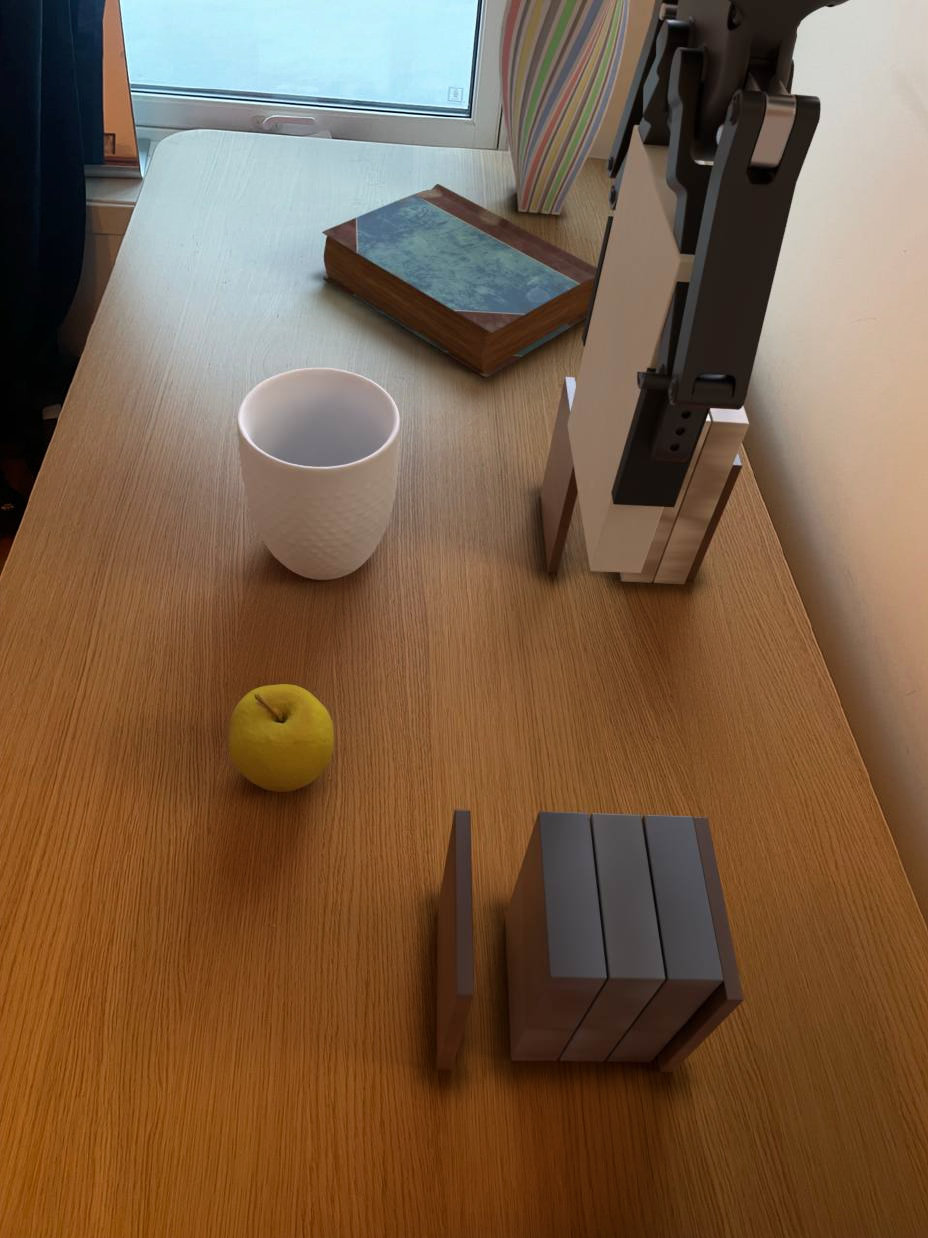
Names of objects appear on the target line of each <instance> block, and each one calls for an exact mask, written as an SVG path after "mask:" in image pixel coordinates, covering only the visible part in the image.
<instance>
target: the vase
mask: <svg viewBox="0 0 928 1238" xmlns="http://www.w3.org/2000/svg"><path fill="white" fill-rule="evenodd" d="M629 16H630V0H506V2H505V6H504V11H503V16H502V22H501V27H500V35H499V36H500V37H499V47H498V48H499V49H498V72H499V73H498V74H499V75H498V76H499V89H500V99H501V108H502V113H503V118H504V120H503V121H504V127H505V131H506V137H507V142H508V146H509V152H510V156H511V162H512V167H513V173H514V178H515V187H516V188H515V189H516V199H517V211H518V212H523V213H527V212H528V213H531V214H533V213H534V214H537V213H538V214H546V215H557V216H560V214H561V212H562V209H563V207H564V204H565V202H566V201H567V198H568V197H569V194H570V192H571V191H572V189H573V187H574V185H575V183H576V181H577V179H578V177H579V175H580V173H581V171H582V169H583V168H584V165H585V164H586V161H587V158H588V157H589V155H590V153H591V151H592V148H593V146H594V144H595V143H596V139H597V137H598V135H599V132H600V129H601V127H602V125H603V122H604V119H605V117H606V115H607V112H608V108H609V105H610V102H611V99H612V96H613V94H614V90H615V87H616V84H617V79H618V76H619V72H620V69H621V65H622V59H623V54H624V49H625V43H626V39H627V31H628V24H629Z"/></svg>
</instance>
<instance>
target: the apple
mask: <svg viewBox="0 0 928 1238" xmlns="http://www.w3.org/2000/svg"><path fill="white" fill-rule="evenodd" d="M229 723H230V725H229V735H228V754H229V758H230V759H229V760H230V761H231V762H232V764H233V766H234V767H235V768H236V769H237V770H238V771H239V772H240V774H242V775H243V776H244V777H245V778H246V779H247V780H248V782H250V783H252V784H254V785H256V786H257V787H260V788H261V789H264V790H266V791H270V792H276V793H277V792H278V793H287V792H293V791H296V790H299V789H302V788H304V787H306V786H308V785H310V784H311V783H313V782H314V781H315V780H316V779H317V778H318V777H320V776H321V775H322V774H323V772H325V770H326V768H327V767H328V765H329V763H330V761H331V759H332V756H333V752H334V744H335V743H334V742H335V731H334V723H333V720H332V717H331V715H330V712H329V711H328V710H327V707H325V706H324V705H323V704H322V702H320V700H319V699H318V698H316V697H315V696H314V695H313V694H312V693H311V691H309V690H307V689H305V688H304V687H301V686H298V685H295V684H288V683H279V684H269V685H263V686H259V687H256V688H254V689H252V690H250V691H249V692H248V693H246V694H245V695H244V696H243V697H242V698H241V699H240V700H239V702H238V703H237V705H236V706H235V708H234V710H233V713H232V715H231V718H230V722H229Z"/></svg>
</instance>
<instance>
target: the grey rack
mask: <svg viewBox="0 0 928 1238" xmlns="http://www.w3.org/2000/svg"><path fill="white" fill-rule="evenodd" d="M452 816H453V817H452V824H451V828H450V835H449V840H448V845H447V852H446V857H445V862H444V867H443V874H442V880H441V885H440V891H439V897H438V902H437V929H436V930H437V936H436V937H437V940H436V941H437V942H436V943H437V944H436V945H437V946H436V948H437V949H436V951H437V952H436V956H437V957H436V958H437V959H436V961H437V965H436V966H437V967H436V970H437V971H436V1070H439V1071H443V1070H444V1071H445V1070H446V1071H450V1070H452V1069H453V1066H454V1062H455V1059H456V1056H457V1054H458V1049H459V1047H460V1046H459V1045H460V1043H461V1040H462V1036H463V1034H464V1030H465V1026H466V1022H467V1020H468V1017H469V1013H470V1010H471V1006H472V1003H473V1001H474V996H475V967H474V966H475V964H474V963H475V961H474V915H473V914H474V913H473V912H474V910H473V908H474V907H473V868H472V867H473V866H472V864H473V863H472V861H473V860H472V859H473V858H472V820H471V819H472V815H471V809H460V808H459V809H454V811H453V815H452ZM710 826H711V825H710V822H709V818H708V817H707V816H706V817H705V816H692V815H668V814H667V815H665V814H664V815H663V814H642V815H641V814H636V813H635V814H634V813H633V814H632V813H630V814H629V813H606V812H605V813H603V812H602V813H600V812H599V813H598V812H592V813H591V814H590V813H589V812H574V811H573V812H572V811H571V812H569V811H544V810H542V811H541V810H540V811H538V813H537V816H536V819H535V822H534V825H533V828H532V831H531V834H530V838H529V839H528V840H529V841H528V844H527V847H526V850H525V853H524V856H523V859H522V863H521V866H520V869H519V872H518V874H517V878H516V881H515V885H514V888H513V891H512V894H511V897H510V900H509V903H508V907H507V909H506V913H505V916H504V923H505V924H504V926H505V948H506V949H505V951H506V971H507V973H506V974H507V992H508V995H507V996H508V1016H509V1017H508V1019H509V1020H508V1021H509V1039H510V1040H509V1041H510V1042H509V1043H510V1059H511V1061H521V1062H522V1061H524V1062H525V1061H531V1062H534V1061H535V1062H557V1061H558V1060H559V1061H560V1062H605V1061H606V1062H612V1063H613V1062H617V1063H619V1062H622V1063H625V1062H627V1063H628V1062H629V1063H632V1062H633V1063H652V1061H653V1060H654V1059H655V1058H656V1057H657V1065H658V1071H659V1072H660V1073H673V1072H675V1071H676V1070H677V1069H678V1068H679V1067H680V1066H681V1065H682V1064H683V1063H684V1061H686V1060H687V1059H688V1057H690V1056H691V1055H692V1054H693V1052H694V1051H695V1050H696V1049H698V1048H699V1047H700V1045H702V1044H703V1043H704V1041H705V1040H706V1039H708V1038H709V1037H710V1035H712V1033H713V1032H714V1031H715V1030H716V1029H718V1027H719V1026H720V1025H721V1024H722V1023H723V1022H724V1021H725V1020H726V1019H727V1018H728V1017H729V1016H730V1015H731V1014H732V1013H733V1012H734V1011H735V1010H736V1009H737V1008H738V1007H739V1006H740V1005H741V1004H742V1003H743V1002H744V1000H745V997H744V993H743V992H744V991H743V988H742V982H741V977H740V973H739V968H738V963H737V958H736V952H735V946H734V943H733V936H732V932H731V928H730V923H729V917H728V913H727V907H726V902H725V897H724V892H723V887H722V881H721V877H720V871H719V867H718V861H717V856H716V851H715V847H714V842H713V837H712V831H711V827H710Z"/></svg>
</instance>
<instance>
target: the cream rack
mask: <svg viewBox="0 0 928 1238" xmlns="http://www.w3.org/2000/svg"><path fill="white" fill-rule="evenodd" d="M576 384H577V380H576V377H575V376H573V377H572V376H565V377H564V380H563V383H562V388H561V394H560V398H559V403H558V408H557V413H556V417H555V422H554V427H553V432H552V437H551V442H550V447H549V450H548V455H547V461H546V465H545V470H544V475H543V480H542V484H541V489H540V494H539V497H540V507H541V516H542V526H543V527H542V528H543V536H544V537H543V538H544V548H545V558H546V568H547V569H546V570H547V574H558V573H559V569H560V565H561V561H562V557H563V553H564V549H565V545H566V542H567V539H568V533H569V529H570V526H571V521H572V518H573V514H574V509H575V505H576V501H577V497H578V490H577V483H576V477H575V470H574V464H573V458H572V451H571V445H570V438H569V432H568V426H567V424H568V420H569V415H570V411H571V406H572V402H573V397H574V393H575V388H576ZM749 426H750V422H749V418H748V415H747V413H746V409H745V405H743V406H742V408H741V409H739V410H734V409H715V408H710V411H709V413H708V416H707V419H706V422H705V424H704V427H703V430H702V433H701V435H700V438H699V441H698V444H697V446H696V449H695V452H694V455H693V457H692V460H691V463H690V466H689V468H688V471H687V474H686V477H685V479H684V482H683V485H682V488H681V490H680V493H679V496H678V499H677V501H676V504H675V507H664V508H663V511H662V513H661V516H660V519H659V522H658V525H657V528H656V531H655V533H654V536H653V539H652V542H651V545H650V548H649V550H648V553H647V556H646V559H645V562H644V565H643V568H642V570H641V573H625V572H619V577H620V581H621V582H626V583H627V582H628V583H647V584H651V583H654V584H663V585H664V584H667V585H685V583H686V581H696V578H697V575H698V573H699V571H700V569H701V566H702V565H703V561H704V559H705V557H706V554H707V552H708V550H709V547H710V544H711V542H712V540H713V538H714V535H715V533H716V531H717V528H718V526H719V523H720V521H721V518H722V516H723V514H724V512H725V510H726V507H727V505H728V502H729V500H730V497H731V495H732V492H733V490H734V487H735V486H736V483H737V481H738V478H739V476H740V473H741V471H742V468H743V463H742V459H741V456H740V453H739V451H740V448H741V446H742V443H743V441H744V439H745V436H746V434H747V431H748V429H749Z"/></svg>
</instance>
